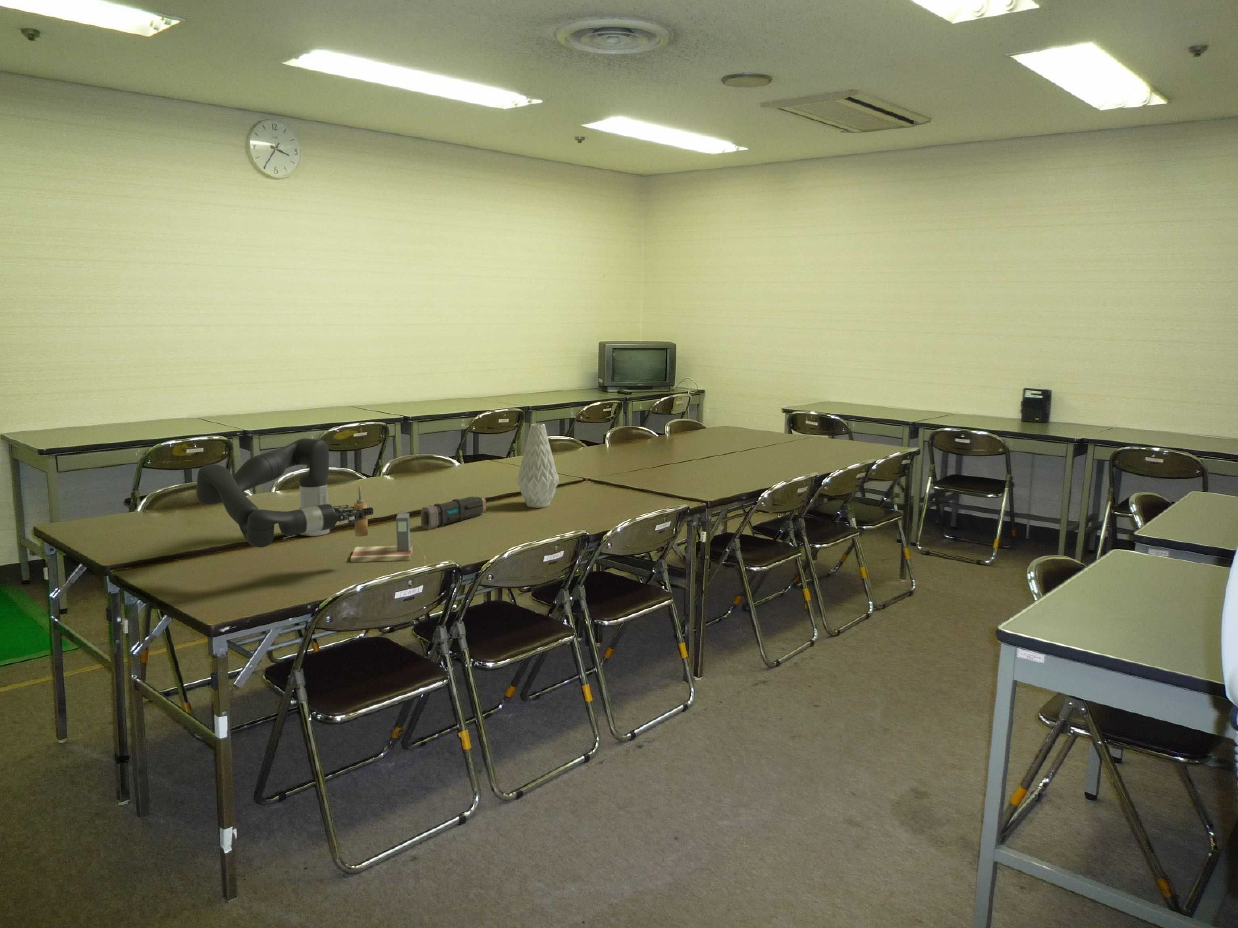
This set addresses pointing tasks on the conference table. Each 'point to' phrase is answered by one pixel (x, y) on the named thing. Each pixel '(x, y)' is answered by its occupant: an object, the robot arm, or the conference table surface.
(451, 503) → the tube
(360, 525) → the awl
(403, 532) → the block
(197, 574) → the conference table surface
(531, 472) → the vase
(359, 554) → the board
